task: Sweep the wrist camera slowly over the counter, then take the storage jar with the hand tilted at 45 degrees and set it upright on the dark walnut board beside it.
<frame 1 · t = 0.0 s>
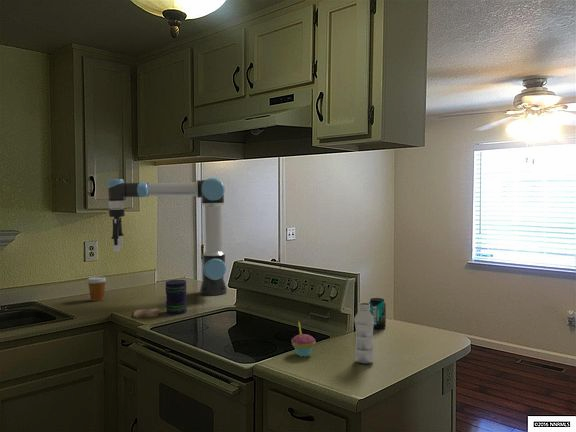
hand: (118, 250, 258), 28 cm above the counter, tool pointing down, fingers open, 13 cm apart
plastic bottle: (364, 363, 168), on the counter
disposable coffee cup: (97, 300, 268), on the counter
beverage can: (377, 327, 210), on the counter
cupcake: (303, 354, 177), on the counter
storage jar: (176, 312, 239), on the counter
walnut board: (146, 314, 236), on the counter
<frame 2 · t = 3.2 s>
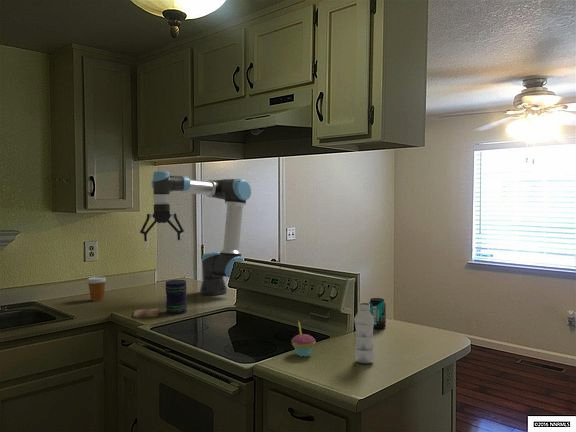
hand: (162, 247, 239), 31 cm above the counter, tool pointing down, fingers open, 13 cm apart
nothing on the counter moved.
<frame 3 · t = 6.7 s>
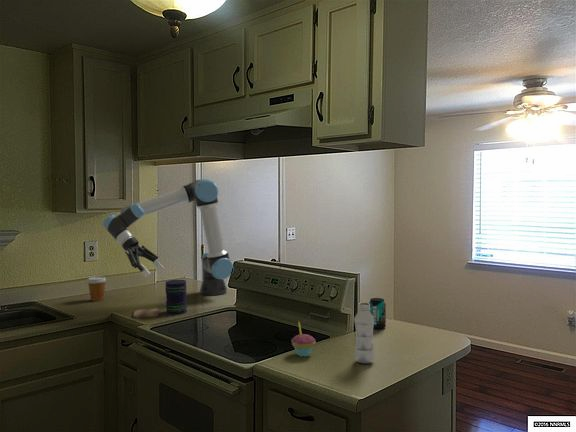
hand: (155, 273, 241), 19 cm above the counter, tool tilted 45°, fingers open, 13 cm apart
nothing on the counter moved.
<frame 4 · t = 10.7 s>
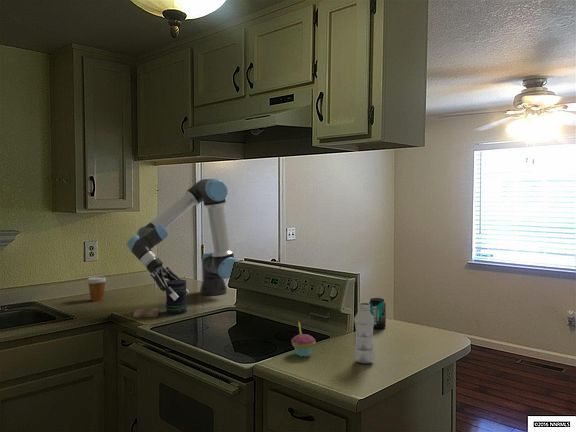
hand: (182, 296, 238), 8 cm above the counter, tool tilted 45°, fingers closed on storage jar, 10 cm apart
storage jar: (176, 312, 239), on the counter, touching gripper
everything else where it was.
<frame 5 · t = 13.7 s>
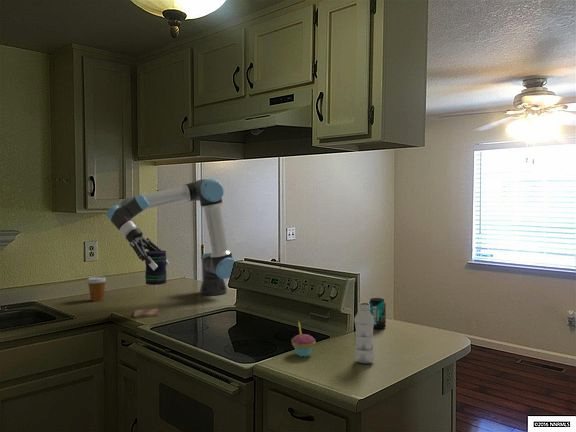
hand: (161, 266, 235), 23 cm above the counter, tool tilted 45°, fingers closed on storage jar, 10 cm apart
storage jar: (156, 283, 236), point 15 cm above the counter, touching gripper
everything else where it was.
when the fingers open (10 cm above the counter, at t = 16.9 s): storage jar drops 1 cm, resting on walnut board.
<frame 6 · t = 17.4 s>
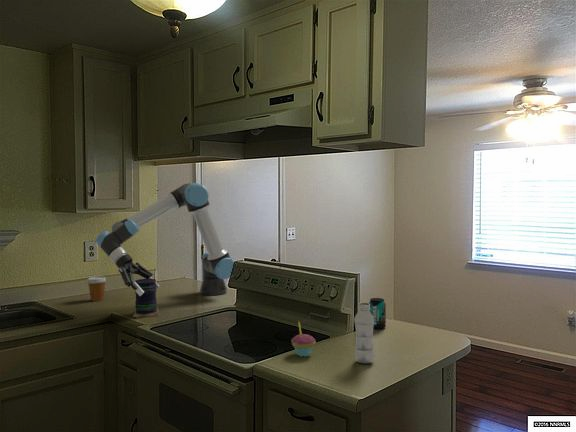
hand: (150, 291, 235), 11 cm above the counter, tool tilted 45°, fingers open, 13 cm apart
storage jar: (146, 312, 236), point 1 cm above the counter, touching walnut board
everything else where it was.
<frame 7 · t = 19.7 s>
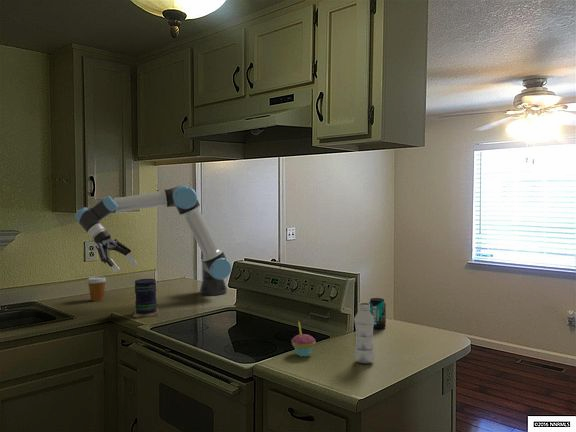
hand: (126, 267, 239), 22 cm above the counter, tool tilted 45°, fingers open, 13 cm apart
nothing on the counter moved.
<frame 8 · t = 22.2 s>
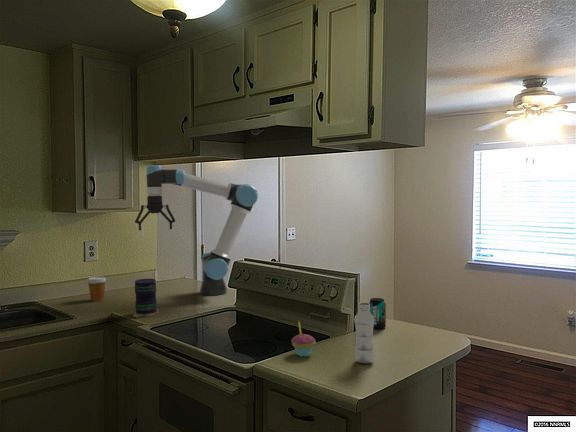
hand: (155, 236, 260), 35 cm above the counter, tool pointing down, fingers open, 13 cm apart
nothing on the counter moved.
at the end: storage jar inside the target area on the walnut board (0.1 cm from its centre), point 1.0 cm above the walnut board's base; storage jar tilted 0°; the gripper is holding nothing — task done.
